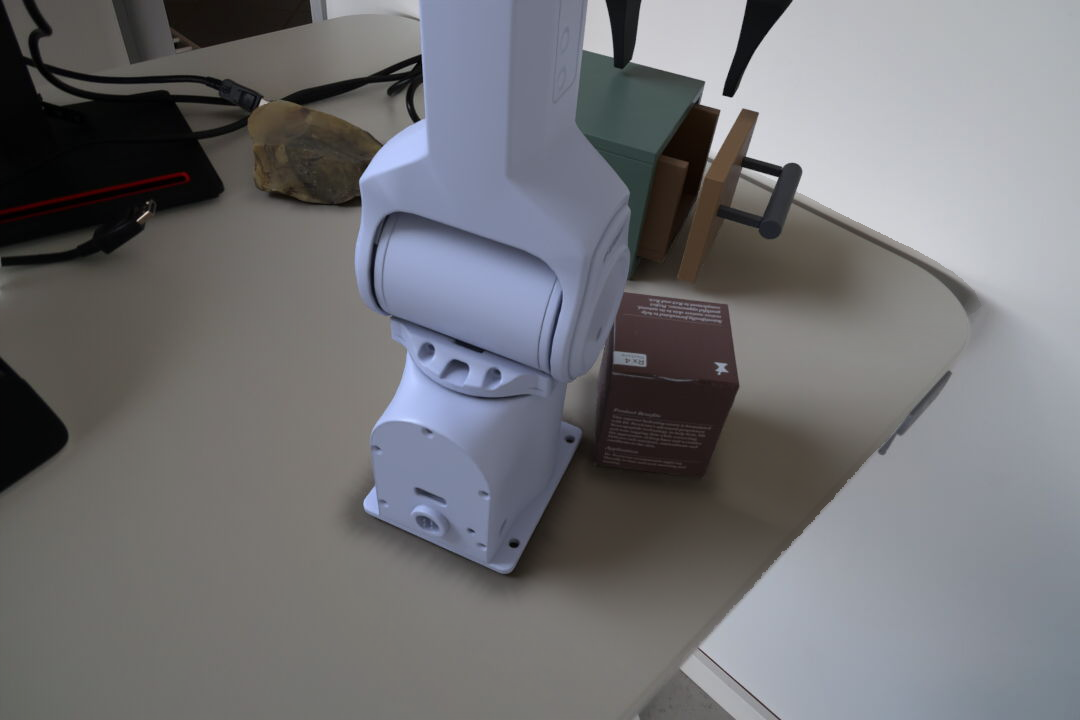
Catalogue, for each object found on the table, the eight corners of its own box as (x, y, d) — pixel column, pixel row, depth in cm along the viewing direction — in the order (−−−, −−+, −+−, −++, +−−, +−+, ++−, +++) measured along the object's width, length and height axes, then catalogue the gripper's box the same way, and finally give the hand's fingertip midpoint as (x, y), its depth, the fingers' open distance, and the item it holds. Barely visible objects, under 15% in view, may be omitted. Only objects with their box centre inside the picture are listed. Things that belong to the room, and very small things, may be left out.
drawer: (783, 224, 55) (819, 127, 49) (754, 304, 48) (792, 202, 42) (577, 163, 59) (590, 67, 53) (523, 229, 52) (531, 126, 46)
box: (698, 398, 43) (732, 302, 38) (705, 482, 39) (743, 387, 33) (595, 384, 43) (614, 287, 38) (589, 467, 39) (610, 370, 33)
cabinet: (676, 199, 58) (705, 80, 51) (629, 280, 50) (656, 153, 43) (520, 152, 61) (528, 35, 54) (453, 222, 53) (452, 95, 47)
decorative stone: (401, 151, 60) (399, 110, 57) (365, 214, 53) (361, 170, 51) (277, 133, 60) (269, 91, 58) (225, 192, 54) (214, 148, 51)
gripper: (869, -153, 41) (791, 81, 51) (627, -195, 45) (597, 32, 54) (854, -131, 37) (772, 122, 46) (585, -179, 40) (560, 66, 50)
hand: (675, 77), depth 50 cm, fingers open, 7 cm apart
